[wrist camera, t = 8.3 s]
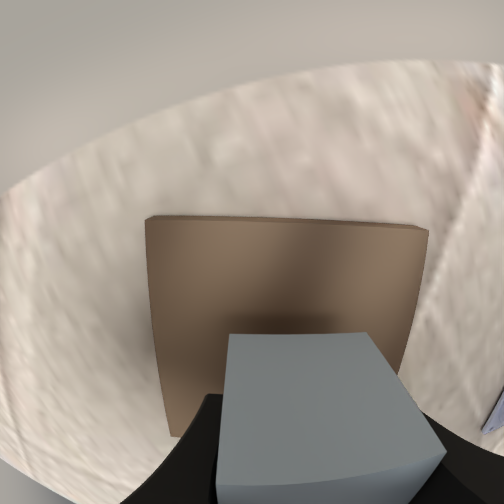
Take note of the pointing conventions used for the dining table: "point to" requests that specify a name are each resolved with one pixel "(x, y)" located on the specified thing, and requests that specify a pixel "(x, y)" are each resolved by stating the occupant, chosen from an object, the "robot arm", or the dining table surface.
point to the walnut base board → (271, 291)
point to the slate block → (319, 424)
